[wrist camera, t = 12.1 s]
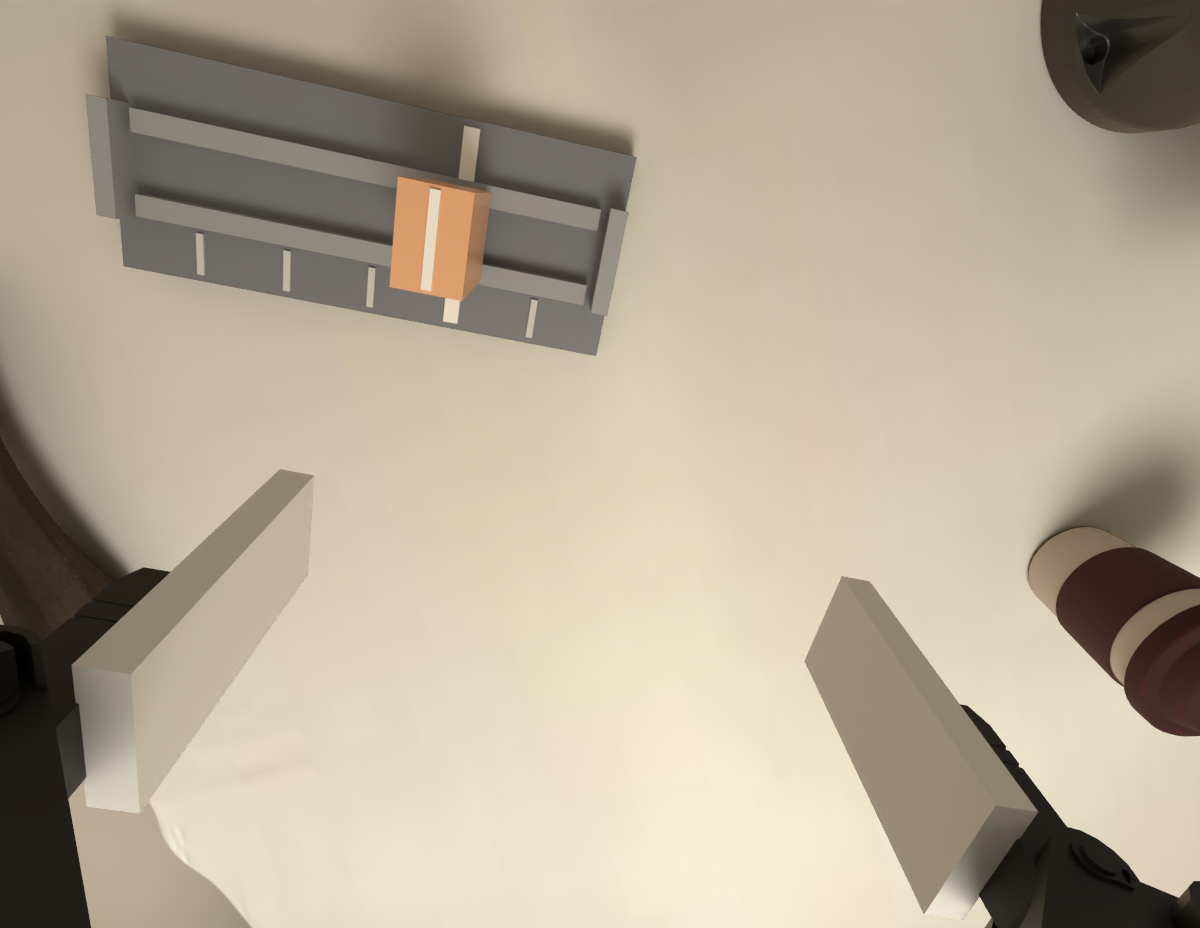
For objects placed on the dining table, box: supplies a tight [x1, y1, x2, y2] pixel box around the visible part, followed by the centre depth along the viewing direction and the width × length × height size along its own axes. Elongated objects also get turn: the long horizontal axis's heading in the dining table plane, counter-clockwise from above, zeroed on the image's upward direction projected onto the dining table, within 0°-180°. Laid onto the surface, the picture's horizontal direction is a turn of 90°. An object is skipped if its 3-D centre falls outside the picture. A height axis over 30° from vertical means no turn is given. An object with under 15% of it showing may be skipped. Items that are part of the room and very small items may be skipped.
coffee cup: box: [1028, 527, 1200, 736], centre depth 46 cm, size 10×10×15 cm
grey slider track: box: [86, 36, 636, 356], centre depth 38 cm, size 12×29×4 cm, turn 78°
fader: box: [389, 177, 492, 301], centre depth 35 cm, size 5×4×9 cm
